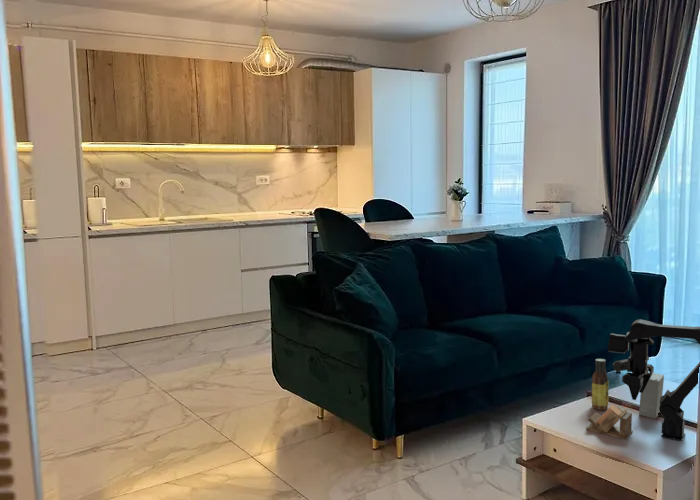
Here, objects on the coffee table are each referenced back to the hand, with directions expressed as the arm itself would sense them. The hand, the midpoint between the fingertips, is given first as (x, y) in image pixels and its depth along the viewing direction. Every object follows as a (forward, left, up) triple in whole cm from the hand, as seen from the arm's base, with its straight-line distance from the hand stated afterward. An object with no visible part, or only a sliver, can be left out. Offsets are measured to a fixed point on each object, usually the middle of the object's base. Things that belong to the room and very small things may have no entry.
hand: (637, 396), depth 233 cm
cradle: (+8, +7, -13) cm, 16 cm away
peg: (+6, +7, -9) cm, 13 cm away
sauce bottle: (+18, -14, -13) cm, 26 cm away
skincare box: (0, -19, -13) cm, 23 cm away
